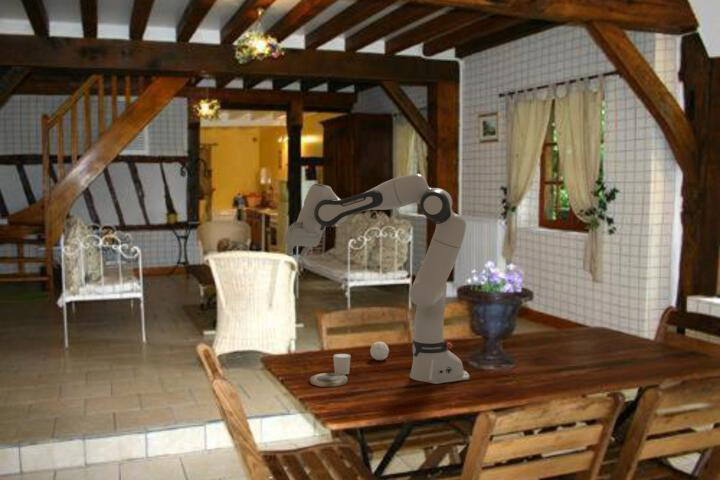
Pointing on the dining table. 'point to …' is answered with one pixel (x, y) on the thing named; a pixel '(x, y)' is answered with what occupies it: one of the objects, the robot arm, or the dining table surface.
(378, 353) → the geometric ball
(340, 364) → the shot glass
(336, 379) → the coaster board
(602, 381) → the dining table surface
